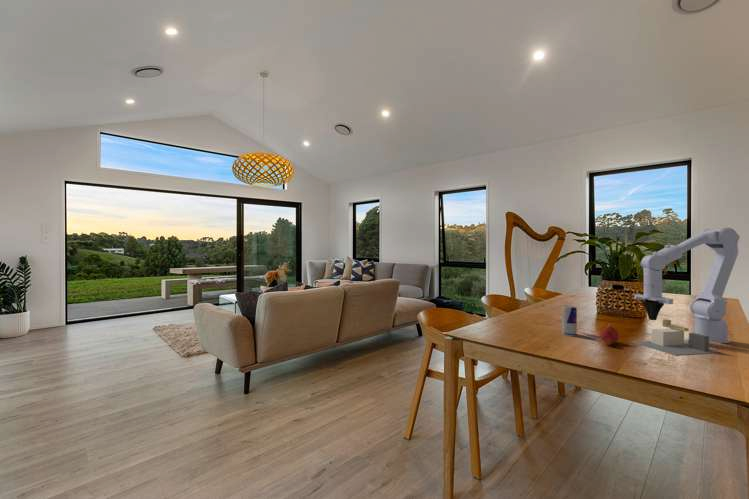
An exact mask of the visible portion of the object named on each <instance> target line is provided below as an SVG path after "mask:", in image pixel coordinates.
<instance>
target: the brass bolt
mask: <svg viewBox="0 0 749 499" xmlns="http://www.w3.org/2000/svg"><path fill="white" fill-rule="evenodd" d="M662 327H663V328H673V329H677V330H682V331H684V332H689V330H690V329H689V327H684V326H681V325H679V326H678V325H674V324H672V320H671V319H665V318H664V319H662Z"/></svg>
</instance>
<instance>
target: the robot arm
mask: <svg viewBox="0 0 749 499" xmlns="http://www.w3.org/2000/svg"><path fill="white" fill-rule="evenodd" d="M740 238H741V237H740V235H739V234H738V233H737V231H736V230H735V229H733V228H731V227H724V228H706V229H704V230H702V231H700V232H698V233H696V234H694V235H692V236H691V237H689V238H688V239H685V240H684V241H683V242H681V243H679V244H677V245H674V244H670V245H669V244H667V245H665V246H664V247H663V248H662V249H660V250H658V251H654V252H652V254H650V255H645V256H643V257H642V259H641V261H640V262H639V265H640V267H641V268H642V272H643V294H641V293H640V294H639V293H635V294H633V296H634V298H633V299H634V300H642V301H641V304H642V305H643V307H644V309H645V311H646V314H647V318H648V320H649V321H657V319H658V316H659V313H660V311H661V309H662V308H663V307H664V305H665V304H666V305H674V299H673V298H669V297H664V296H663V269H665V267H666V266H667V265H668V264H671V263H672V262H674V261H676V260H678V259H680V258H682V256H683V254H684V253H686V252H687V251H690V250H692V249H694V248H696V247H699V246H701V245H705V246H707V247H708V248H710V249H711V250H713V251H714V252H715V254H716V257H715V259H714V262H713V263H712V266H711V269H710V273H709V275H708V278H707V281H706V283H705V285H704V289H703V291H702V292H701V293H699V294H697V295H696V296H695V299H694V300H692V302H691V303H690V307H689V308H690V311H691V313H693V315H694V317H695V318H694V333H696V334H701V335H705V336H709V342H714V343H718V344H729V343H731V341H729V338H728V336H729V335H728V334H729V332H728V330H729V329H728V328H729V327H728V323H727V322H726V320H724V319H723V318H724V317H725V316H726V314H727V308H726V306H727V300H725V298H724V297H723V295H724V292H725V290H726V287H727V284H728V283H729V279H730V276H731V273H732V271H733V268H734V266H735V263H736V259H737V258H738V255H739V246H738V242H739V240H740Z"/></svg>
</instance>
